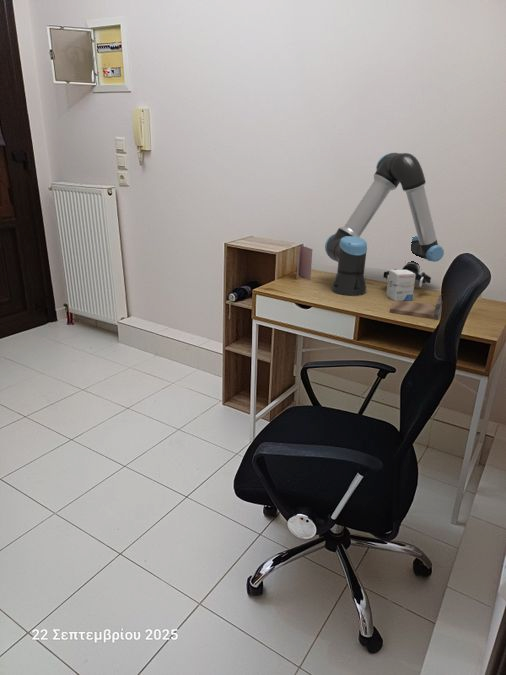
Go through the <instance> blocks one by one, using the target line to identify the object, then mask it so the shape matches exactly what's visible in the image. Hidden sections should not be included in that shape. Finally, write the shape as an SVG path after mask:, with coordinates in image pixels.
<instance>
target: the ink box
mask: <svg viewBox="0 0 506 675" xmlns="http://www.w3.org/2000/svg"><path fill="white" fill-rule="evenodd" d="M388 271H389V277H388V282H387V285H386V293H385V296H386V297H387V298H389V299H391V300H392V301H394V302H395V300H401V301H413V300H414V298H413V296H414V290H415V283H416V280H415V277H416V274H415V273H413V272H411V271H409V270H402V269H397V270H394V269H389V270H388Z"/></svg>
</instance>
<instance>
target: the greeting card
mask: <svg viewBox="0 0 506 675" xmlns="http://www.w3.org/2000/svg"><path fill="white" fill-rule="evenodd" d="M296 262H297V263H296V272H295V274H296V279H298V278H299V276H300V277H302V276H303V278H305V279H306V280H309V281H311V280H312V279H311V278H312V277H311V276H312V264H313V263H312V262H313V249H312V248H310V247H307V246H305V245H300V246H299V247H298V250H297V261H296Z"/></svg>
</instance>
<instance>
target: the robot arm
mask: <svg viewBox="0 0 506 675" xmlns="http://www.w3.org/2000/svg"><path fill="white" fill-rule="evenodd" d="M375 169H376V170H375V173H374V174H373V182H372V183H371V185H370V186H369V188H368V189H367V191H366V192H365V194H364V196H363V197H362V199H361V200H360V201H359V203H358V204H357V206H356V207H355V210H354V211H353V212H352V214H351V216H350V217H349V219H348V220H347V221H346V223H345V224H344V226H341V227H339V228H337V230H336V232H335V233H334V234H331V235H329V237H328V238H327V239H326V241H325V244H324V245H325V246H324V250H325V253H326V254H327V257H329V258H330V259H331V260H333V261H335V262H336V263H337V273H336V276H335V278H334V280H333V282H332V286H331V291H332V292H333V293H336V294H339V295H345V296H362V295H365V294H366V293H367V284H366V280H365V269H366V268H365V267H366V259H367V252H368V251H367V250H368V242H367V241H366V239H364V238H361V235H362V234H363V232H364V230H365V229H367V226H368V225H369V223H370V222H371V220H372V219H373V217H374V216H375V214H376V213H377V212H378V210H379V208H380V207H381V205H382V204H383V202H384V201H385V200H386V198H387V197H388V195H389V194H390V192H391V191H395V190H396V189H397V187H398V186H399V185H401V188H402V191H404V192H405V193H406V198H407V201H408V205H409V209H410V213H411V216H412V220H413V224H414V228H415V231H416V234H417V236H415V237H412V238H413V239H412V242H411V243H412V244H411V251H412V253H413V254H415V255H416V256H419V257H421V258H423V259H424V260H427V261H428V262H433V263H437V262H439V261H440V260H442V259H443V257H444V254H445V250H444V248H443V247H442V246H441V245H440V244H439V243H438V240H437V236H436V231H435V227H434V223H433V222H434V221H433V218H432V215H431V209H430V206H429V201H428V198H427V193H426V189H425V185H426V179H425V175H424V174H425V173H424V171H423V168H422V165H421V164H420V162H419V160H418V159H417V158H416V156H414V155H413V154H411V153H407V152H404V153H402V152H401V153H399V152H390V153H386V154H384V155H383V156H381V157H380V158H379V159H378V161H377V163H376V167H375ZM405 264H406V263H405ZM393 270H398V269H397V268H395V269H394V268H393ZM401 270H409V271H411V272H413V273H415V274H416V277H415V281H417V282H419V285H418V286H419V287H422V285H423V284H426V283H427V284H430V283H431V280H432V277H431V276H430V275H428V274H426V273H425V272H421V271H420V266H419V264H418V263H416V262H414V261H411V262H408V263H407V264H406V265H404V266H403V267H402V269H401ZM420 272H421V273H420ZM382 277H383V278H384V279H386V283H388V277H389V270H388V271H383V276H382Z"/></svg>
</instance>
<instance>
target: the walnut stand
mask: <svg viewBox="0 0 506 675" xmlns="http://www.w3.org/2000/svg"><path fill="white" fill-rule="evenodd" d="M441 295H442V294H439V295H438V298H437V299H436V300H437V301H436V303H435V304H429V303H421V302H415V301H410V300H403V301H401V300H395V301H394V302H393V304H392V305H391V307H390V308H389V313H390V314H391V313H392V314H398V315H406V316H412V317H418V318H419V317H420V318H425V319H431V320H439V317H440V315H441V311H442V307H441Z"/></svg>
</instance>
